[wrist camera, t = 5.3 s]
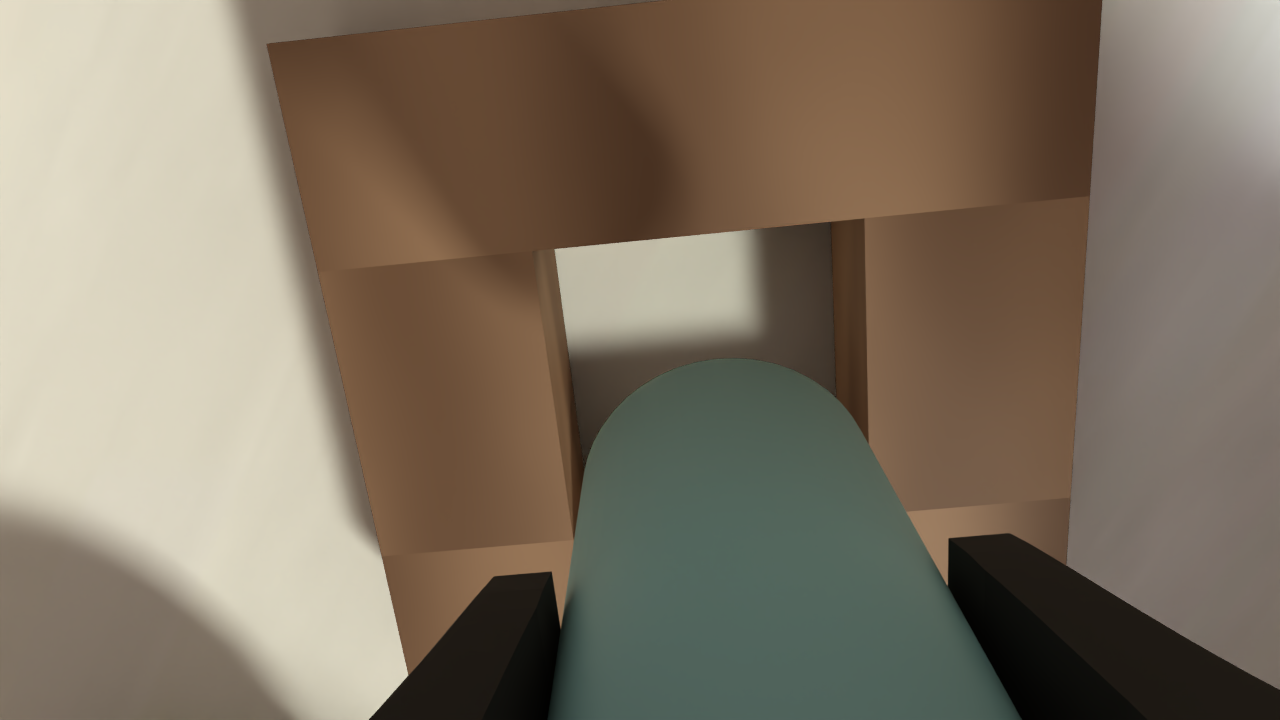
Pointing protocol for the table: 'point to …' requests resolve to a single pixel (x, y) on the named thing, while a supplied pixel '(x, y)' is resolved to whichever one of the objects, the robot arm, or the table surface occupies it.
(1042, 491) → the socket
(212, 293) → the table surface
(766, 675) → the peg
